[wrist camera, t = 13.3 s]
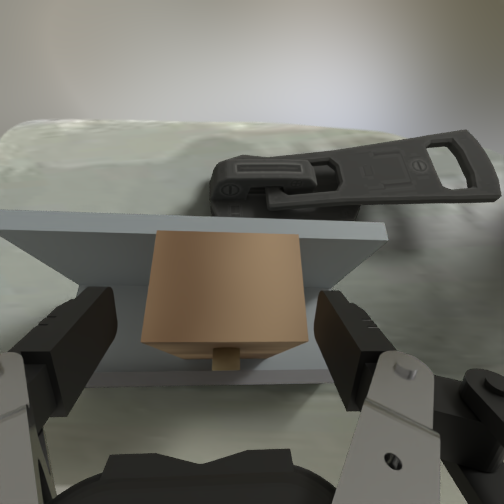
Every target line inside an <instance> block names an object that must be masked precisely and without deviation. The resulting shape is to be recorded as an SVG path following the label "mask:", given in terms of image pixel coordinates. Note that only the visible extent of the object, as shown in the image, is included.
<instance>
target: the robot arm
mask: <svg viewBox="0 0 504 504" xmlns="http://www.w3.org/2000/svg"><path fill="white" fill-rule="evenodd" d="M117 327H118V321H117V314H116V307H115V300H114V293H113V290H112V288H111V287H99V286H88V287H87V288H86V289H84V290H83V291H82V292H81V293H80V294H79V295H78V296H77V297H76V298H75V299H71V300H69V301H67V302H65V303H64V304H62V305H60V306H58V307H56V308H55V309H54V310H53V311H52V312H51V313H50V314H49V315H48V316H47V318H44V319H43V320H42V321H41V322H40V323H39V324H38V326H36V327H35V328H33V329H32V330H31V331H30V332H29V333H28V334H27V335H26V336H25V337H24V338H22V339H21V340H20V341H19V342H18V343H17V344H16V345H15V346H14V347H13V348H12V349H10V350H9V351H8V352H2V353H0V504H440V459H441V461H442V462H443V464H444V465H445V467H446V469H447V470H448V472H449V474H450V475H451V477H452V478H453V480H454V482H455V483H456V485H457V487H458V488H459V490H460V492H461V493H462V495H463V496H464V498H465V500H466V501H467V503H468V504H504V462H503V461H504V376H502V375H499V374H497V373H494V372H492V371H488V370H484V369H470V370H468V371H467V372H466V373H465V376H464V378H463V380H462V381H458V380H453V379H449V378H444V377H440V376H436V375H433V373H432V371H431V369H430V368H429V367H428V366H427V365H426V364H425V363H423V362H422V361H421V360H419V359H418V358H416V357H414V356H412V355H410V354H407V353H404V352H400V351H397V350H396V349H395V348H394V346H393V345H392V344H391V343H390V342H389V340H388V339H387V338H386V337H385V335H384V334H383V333H382V332H381V330H380V329H379V328H377V326H376V324H375V323H374V322H373V321H371V318H370V317H369V316H368V314H367V313H366V312H365V311H364V310H363V309H361V308H360V307H358V306H357V305H355V304H354V303H349V302H348V300H347V299H346V298H345V297H344V295H343V294H342V293H341V291H329V290H321V291H320V292H319V295H318V300H317V306H316V312H315V319H314V336H315V340H316V342H317V344H318V347H319V349H320V351H321V354H322V356H323V358H324V360H325V363H326V365H327V367H328V370H329V372H330V374H331V376H332V379H333V381H334V383H335V386H336V388H337V390H338V393H339V395H340V397H341V399H342V402H343V404H344V406H345V409H346V411H360V412H361V414H360V417H359V420H358V423H357V426H356V429H355V432H354V435H353V439H352V442H351V445H350V448H349V451H348V454H347V457H346V460H345V464H344V467H343V470H342V473H341V476H340V479H339V482H338V485H337V488H335V487H334V486H333V485H332V484H331V483H329V482H328V481H326V480H325V479H324V478H322V477H321V476H319V475H317V474H315V473H313V472H312V471H310V470H307V469H305V468H302V467H300V466H296V465H293V462H292V457H291V452H290V449H266V450H246V451H243V452H240V453H237V454H234V455H230V456H227V457H224V458H221V459H218V460H215V461H211V462H208V463H205V464H196V463H192V462H188V461H184V460H180V459H176V458H173V457H169V456H165V455H161V454H157V453H148V454H119V455H109V458H108V461H107V463H106V466H105V468H104V471H103V473H100V474H97V475H94V476H92V477H90V478H87V479H85V480H83V481H81V482H79V483H77V484H75V485H73V486H72V487H70V488H68V489H67V490H65V491H64V492H62V493H61V494H59V495H57V494H56V490H55V484H54V479H53V473H52V468H51V462H50V457H49V451H48V446H47V440H46V435H45V431H44V427H43V426H44V424H45V423H46V421H47V420H48V418H49V417H67V415H68V414H69V412H70V410H71V409H72V407H73V406H74V404H75V402H76V401H77V399H78V397H79V396H80V394H81V393H82V391H83V389H84V388H85V386H86V384H87V383H88V381H89V379H90V378H91V376H92V375H93V373H94V371H95V370H96V368H97V366H98V365H99V363H100V362H101V360H102V358H103V357H104V355H105V353H106V352H107V350H108V348H109V347H110V345H111V344H112V342H113V340H114V339H115V336H116V333H117Z"/></svg>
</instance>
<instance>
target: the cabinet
mask: <svg viewBox="0 0 504 504" xmlns="http://www.w3.org/2000/svg"><path fill="white" fill-rule="evenodd" d="M306 342H309V339H308V328H307V318H306V307H305V297H304V286H303V276H302V265H301V254H300V244H299V234H269V233H234V232H200V231H166V230H157V232H156V239H155V246H154V253H153V259H152V266H151V273H150V280H149V287H148V294H147V301H146V308H145V314H144V321H143V328H142V335H141V343H143V344H146V345H149V346H151V347H154V348H156V349H159V350H161V351H164V352H166V353H169V354H171V355H174V356H177V357H179V358H182V359H212V371H228V370H240V359H267V358H270V357H272V356H275V355H277V354H279V353H282V352H284V351H287V350H289V349H292V348H294V347H296V346H299V345H301V344H304V343H306Z"/></svg>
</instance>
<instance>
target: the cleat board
mask: <svg viewBox="0 0 504 504" xmlns="http://www.w3.org/2000/svg"><path fill="white" fill-rule="evenodd" d="M157 230H166V231H200V232H234V233H269V234H299V244H300V254H301V265H302V276H303V286H304V297H305V307H306V318H307V328H308V339H309V342H306V343H304V344H301V345H299V346H296V347H294V348H292V349H289V350H287V351H284V352H282V353H279V354H277V355H275V356H272V357H270V358H267V359H240V370H228V371H212V359H182V358H179V357H177V356H174V355H171V354H169V353H166V352H164V351H161V350H159V349H156V348H154V347H151V346H149V345H146V344H143V343H141V335H142V328H143V321H144V314H145V308H146V301H147V294H148V287H149V280H150V273H151V266H152V259H153V253H154V246H155V239H156V232H157ZM0 236H1V237H2V238H4V239H6V240H7V241H9V242H11V243H12V244H14V245H15V246H17V247H19V248H20V249H22V250H23V251H25V252H27V253H28V254H30V255H32V256H33V257H35V258H36V259H38V260H40V261H41V262H43V263H44V264H46V265H48V266H49V267H51V268H53V269H54V270H56V271H57V272H59V273H61V274H62V275H64V276H65V277H67V278H69V279H70V280H72V281H73V282H75V283H77V284H78V285H79V288H78V292H77V296H78V295H79V294H80V293H81V292H82V291H83V290H84V289H86V288H87V287H88V286H99V287H111V288H112V290H113V293H114V300H115V307H116V314H117V321H118V327H117V333H116V336H115V339H114V340H113V342H112V344H111V345H110V347H109V348H108V350H107V352H106V353H105V355H104V357H103V358H102V360H101V362H100V363H99V365H98V366H97V368H96V370H95V371H94V373H93V375H92V376H91V378H90V379H89V381H88V383H87V384H86V386H85V388H95V387H149V386H202V385H255V384H309V383H334V381H333V379H332V376H331V374H330V372H329V370H328V367H327V365H326V363H325V360H324V358H323V356H322V354H321V351H320V349H319V347H318V344H317V342H316V340H315V336H314V319H315V312H316V306H317V300H318V295H319V292H320V291H321V290H329V291H331V288H332V287H333V286H334V285H335V284H337V283H338V282H339V281H340V280H341V279H343V278H344V277H345V276H346V275H347V274H349V273H350V272H351V271H352V270H354V269H355V268H356V267H357V266H358V265H360V264H361V263H362V262H363V261H364V260H366V259H367V258H368V257H369V256H370V255H372V254H373V253H374V252H375V251H376V250H378V249H379V248H380V247H381V246H382V245H384V244H385V243H386V242H387V241H389V239H388V235H387V231H386V227H385V223H384V222H356V221H326V220H297V219H267V218H237V217H208V216H178V215H148V214H118V213H89V212H59V211H29V210H0ZM77 296H76V297H77Z"/></svg>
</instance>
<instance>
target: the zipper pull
mask: <svg viewBox="0 0 504 504" xmlns="http://www.w3.org/2000/svg"><path fill="white" fill-rule="evenodd" d="M443 146H445V147H448V149H449V150H450V151H451V152H452V153H453V155H454V156H455V157H456V159H457V161H458V163H459V165H460V167H461V169H462V172H463V174H464V176H465V178H466V180H467V187H468V188H466V189H454V190H451V189H448V188H445V187H443V186H442V184H441V182H440V180H439V178H438V175H437V173H436V171H435V168H434V166H433V164H432V161H431V159H430V157H429V154H428V152H427V150H426V148H432V147H443ZM500 197H501V190H500V184H499V179H498V177H497V174H496V172H495V169H494V167H493V165H492V163H491V161H490V159H489V158H488V156H487V154H486V152H485V151H484V149H483V148H482V147H481V145H480V144H479V142H478V141H477V140H476V139H475V138H474V137H473V136H472V135H471V134H470V133H469V132H468V131H467V130H459V131H453V132H447V133H440V134H434V135H427V136H422V137H416V138H410V139H403V140H397V141H390V142H384V143H378V144H371V145H365V146H359V147H352V148H346V149H339V150H333V151H324V152H314V153H305V154H295V155H286V156H276V157H259V156H250V155H241V156H237V157H234V158H231V159H228V160H225V161H222V162H219V163H218V164H217V165H216V167H215V168H214V170H213V174H212V177H211V181H210V205H211V213H212V216H213V217H237V218H267V219H297V220H326V221H354V220H355V219H356V216H357V214H358V211H359V208H360V205H378V204H424V203H481V202H495V201H496V200H497V199H499V198H500Z"/></svg>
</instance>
